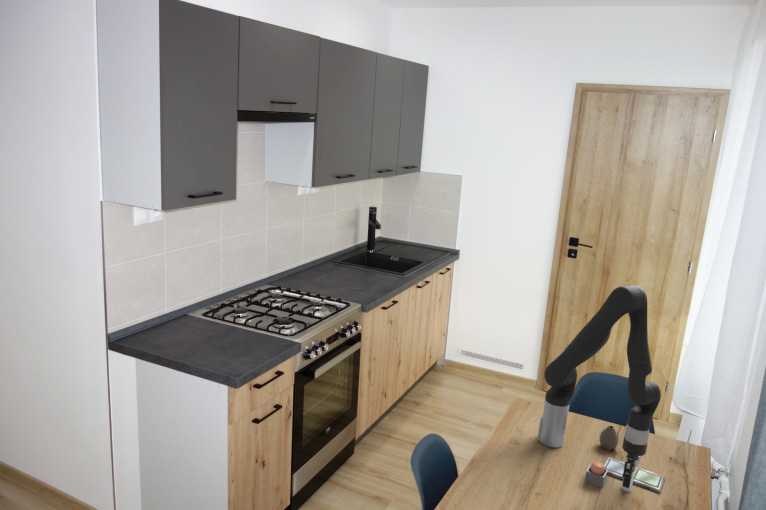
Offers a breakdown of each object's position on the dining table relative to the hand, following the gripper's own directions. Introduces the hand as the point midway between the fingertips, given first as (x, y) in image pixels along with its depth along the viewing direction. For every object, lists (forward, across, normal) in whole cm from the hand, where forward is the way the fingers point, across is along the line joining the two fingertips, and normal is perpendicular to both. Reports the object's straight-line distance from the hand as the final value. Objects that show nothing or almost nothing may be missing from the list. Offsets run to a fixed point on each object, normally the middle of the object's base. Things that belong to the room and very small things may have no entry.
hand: (627, 482), depth 209 cm
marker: (+3, 0, 0) cm, 3 cm away
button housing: (+3, +2, -10) cm, 11 cm away
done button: (0, +2, -10) cm, 10 cm away
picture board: (+3, -10, 0) cm, 11 cm away
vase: (+3, -25, -12) cm, 28 cm away
